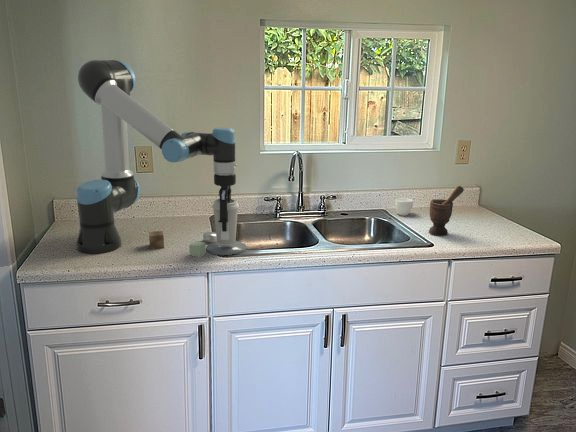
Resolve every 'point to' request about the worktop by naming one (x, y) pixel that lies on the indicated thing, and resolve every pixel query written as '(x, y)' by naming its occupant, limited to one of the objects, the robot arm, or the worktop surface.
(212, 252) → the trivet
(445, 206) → the mortar and pestle
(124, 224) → the worktop surface
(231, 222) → the coffee cup
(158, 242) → the walnut block
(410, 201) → the cup
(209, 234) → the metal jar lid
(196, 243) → the sage block
